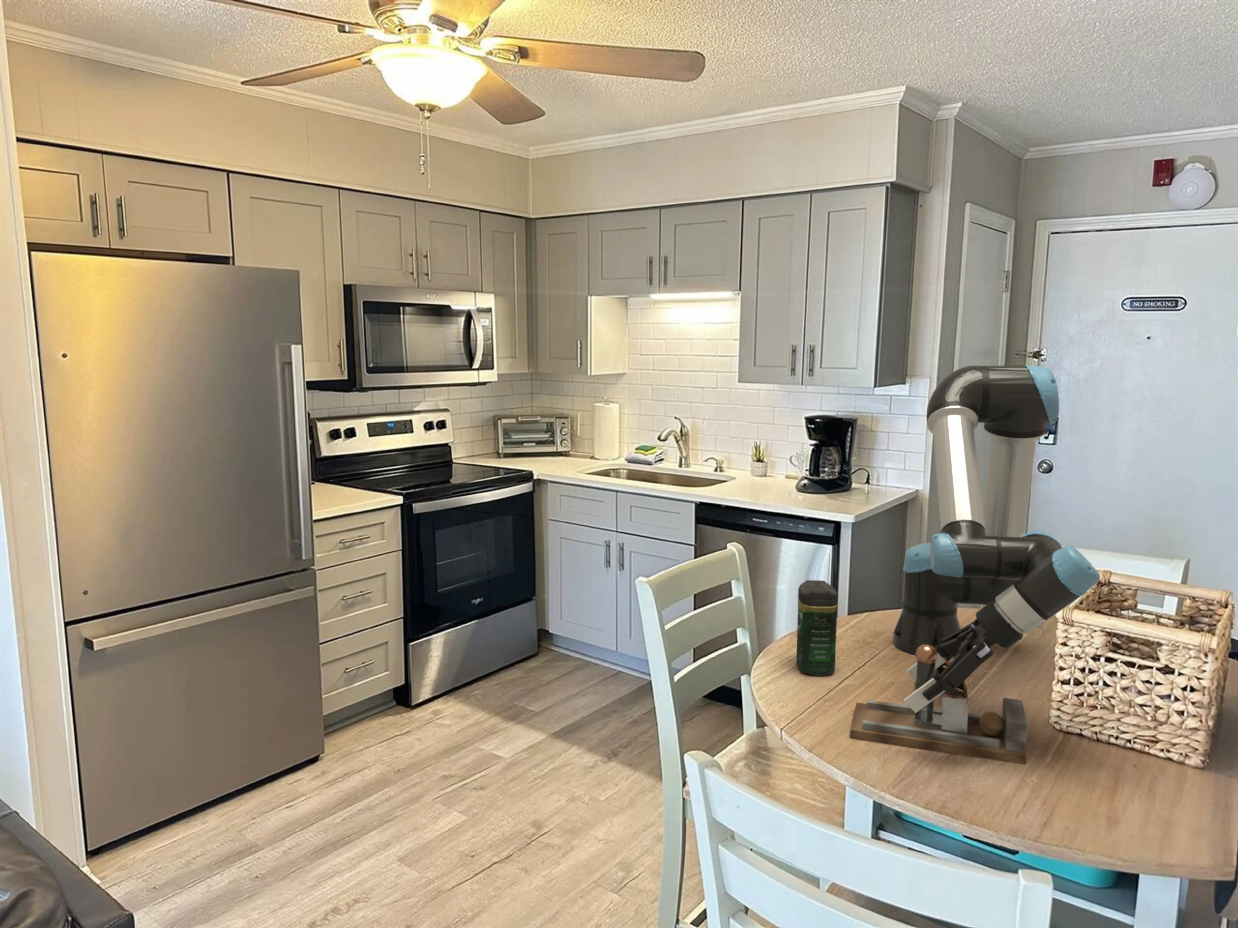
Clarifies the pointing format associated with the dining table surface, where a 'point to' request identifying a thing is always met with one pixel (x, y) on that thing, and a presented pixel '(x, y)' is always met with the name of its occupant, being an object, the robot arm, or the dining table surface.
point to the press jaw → (952, 709)
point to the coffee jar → (816, 627)
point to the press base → (982, 739)
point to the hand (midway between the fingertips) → (910, 690)
